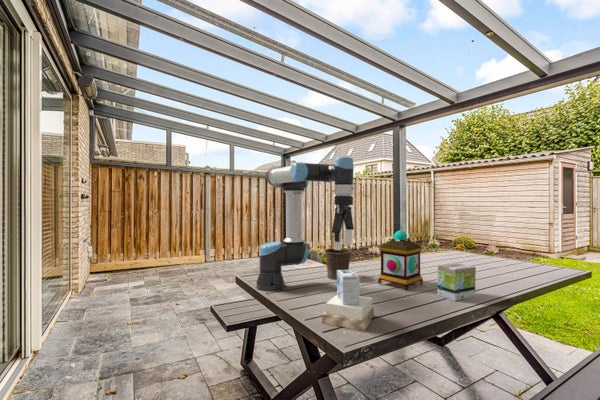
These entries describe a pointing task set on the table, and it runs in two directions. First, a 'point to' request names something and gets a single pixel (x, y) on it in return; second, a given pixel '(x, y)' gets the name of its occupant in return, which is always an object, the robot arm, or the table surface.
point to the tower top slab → (349, 308)
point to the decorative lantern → (400, 261)
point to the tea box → (456, 281)
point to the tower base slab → (348, 321)
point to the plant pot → (337, 261)
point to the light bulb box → (348, 287)
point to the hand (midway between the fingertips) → (343, 247)
